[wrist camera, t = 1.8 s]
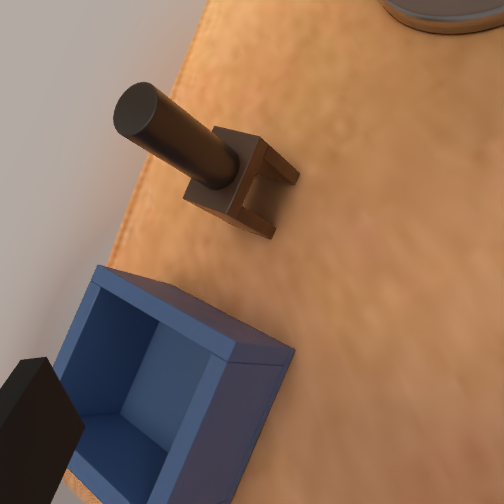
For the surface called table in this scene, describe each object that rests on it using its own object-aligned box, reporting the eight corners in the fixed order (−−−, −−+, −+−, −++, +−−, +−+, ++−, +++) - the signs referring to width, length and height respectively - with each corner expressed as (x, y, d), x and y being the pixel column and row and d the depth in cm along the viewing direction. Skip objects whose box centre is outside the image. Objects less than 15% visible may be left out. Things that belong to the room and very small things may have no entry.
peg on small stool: (257, 161, 37) (130, 56, 25) (300, 172, 35) (183, 64, 23) (230, 224, 37) (89, 148, 25) (271, 239, 35) (138, 165, 23)
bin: (170, 284, 38) (97, 264, 32) (295, 349, 32) (236, 341, 25) (111, 419, 38) (25, 426, 32) (225, 514, 32) (147, 549, 25)
